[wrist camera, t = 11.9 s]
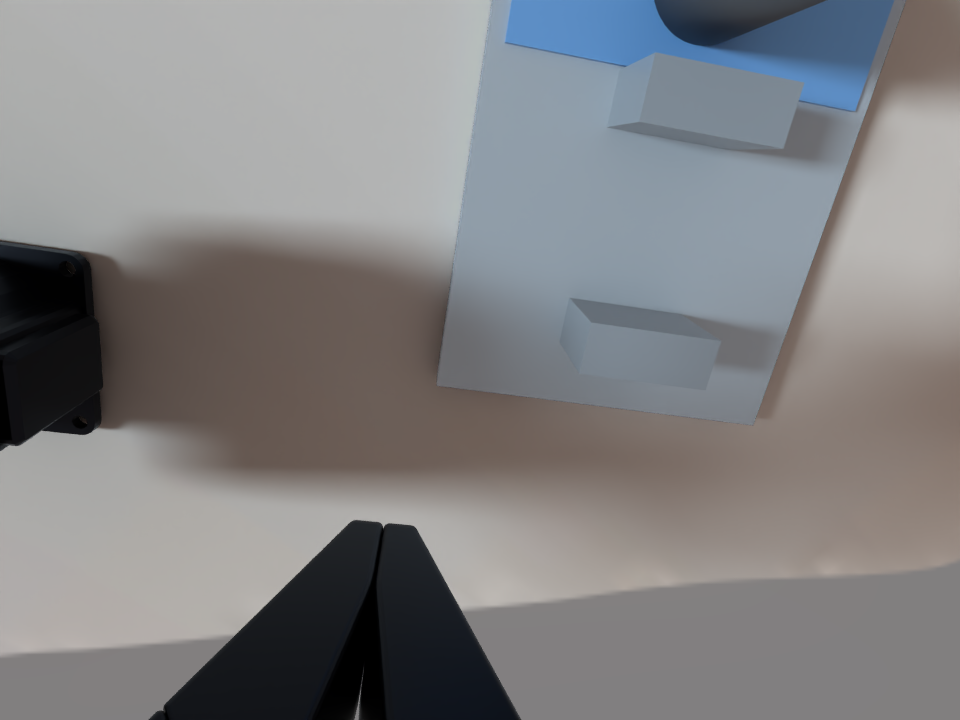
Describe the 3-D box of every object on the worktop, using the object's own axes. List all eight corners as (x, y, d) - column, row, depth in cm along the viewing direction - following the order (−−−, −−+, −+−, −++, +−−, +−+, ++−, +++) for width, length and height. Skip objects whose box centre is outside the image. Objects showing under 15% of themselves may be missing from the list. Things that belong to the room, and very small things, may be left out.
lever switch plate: (436, 375, 21) (435, 423, 17) (544, -358, 14) (581, -543, 10) (739, 414, 22) (800, 467, 18) (967, -238, 15) (1135, -364, 12)
